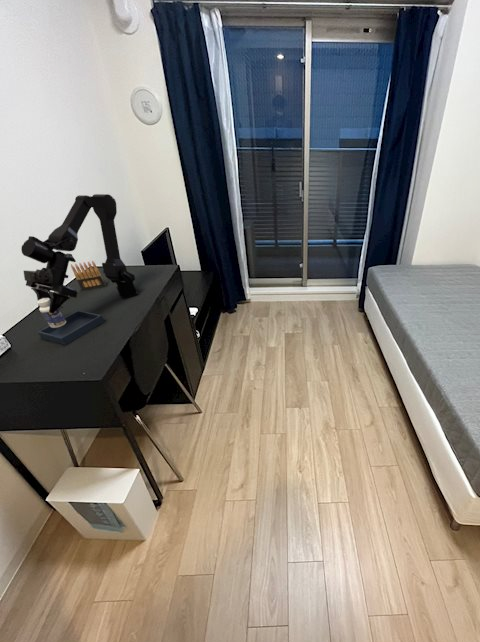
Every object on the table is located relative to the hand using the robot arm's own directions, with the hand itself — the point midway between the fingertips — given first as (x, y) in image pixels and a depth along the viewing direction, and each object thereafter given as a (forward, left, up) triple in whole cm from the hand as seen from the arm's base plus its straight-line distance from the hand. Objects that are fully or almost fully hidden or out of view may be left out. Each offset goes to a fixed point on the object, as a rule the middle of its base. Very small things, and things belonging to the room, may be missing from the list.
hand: (45, 311), depth 116 cm
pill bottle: (-1, -1, -6) cm, 6 cm away
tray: (-4, -3, -10) cm, 12 cm away
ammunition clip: (-17, -41, -11) cm, 45 cm away
